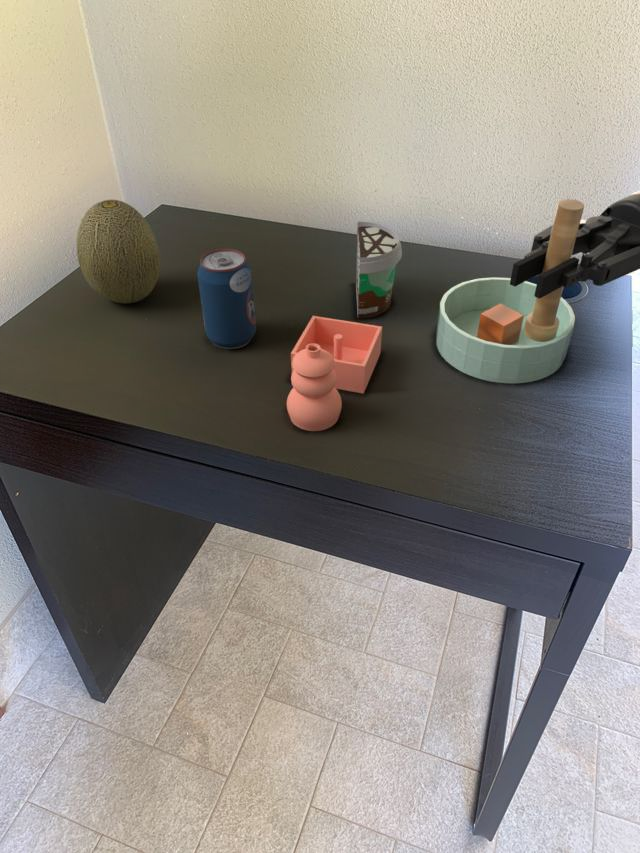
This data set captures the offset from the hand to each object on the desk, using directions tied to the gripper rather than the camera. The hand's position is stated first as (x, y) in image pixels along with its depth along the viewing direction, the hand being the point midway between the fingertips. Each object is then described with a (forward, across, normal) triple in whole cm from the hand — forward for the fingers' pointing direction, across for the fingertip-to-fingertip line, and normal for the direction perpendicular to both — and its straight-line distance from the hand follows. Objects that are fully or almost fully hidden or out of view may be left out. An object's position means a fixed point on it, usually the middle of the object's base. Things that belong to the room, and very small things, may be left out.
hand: (526, 280), depth 78 cm
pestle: (-5, 0, -10) cm, 11 cm away
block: (-5, +6, -14) cm, 16 cm away
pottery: (+18, +13, -14) cm, 27 cm away
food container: (0, +24, -14) cm, 28 cm away
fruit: (+28, +49, -14) cm, 58 cm away
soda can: (+22, +30, -14) cm, 40 cm away
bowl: (-5, +6, -14) cm, 16 cm away
